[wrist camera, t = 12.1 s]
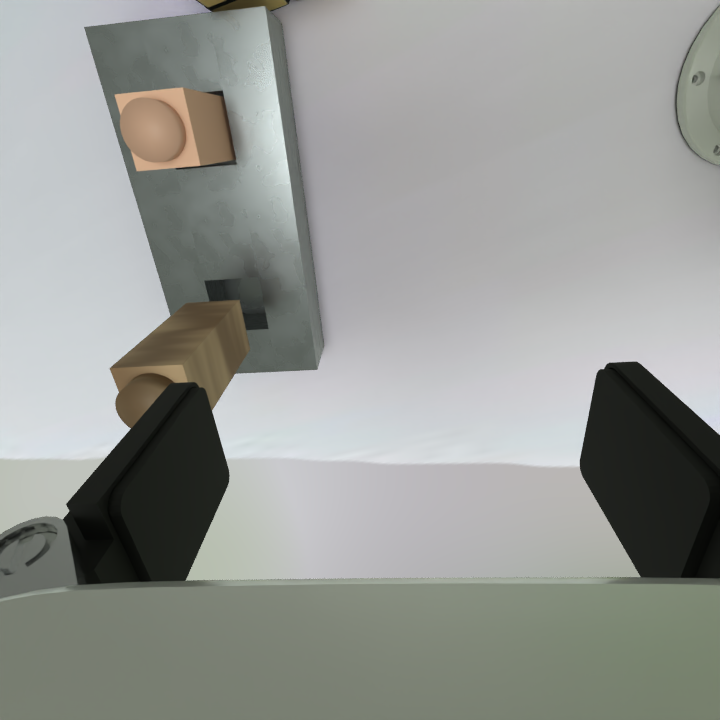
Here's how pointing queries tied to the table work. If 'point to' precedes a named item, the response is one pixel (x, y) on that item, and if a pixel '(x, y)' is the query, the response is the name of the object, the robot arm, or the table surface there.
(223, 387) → the walnut plug
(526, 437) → the table surface
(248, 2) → the puzzle cube
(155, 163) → the terracotta plug
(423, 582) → the robot arm
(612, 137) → the table surface
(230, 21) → the block
